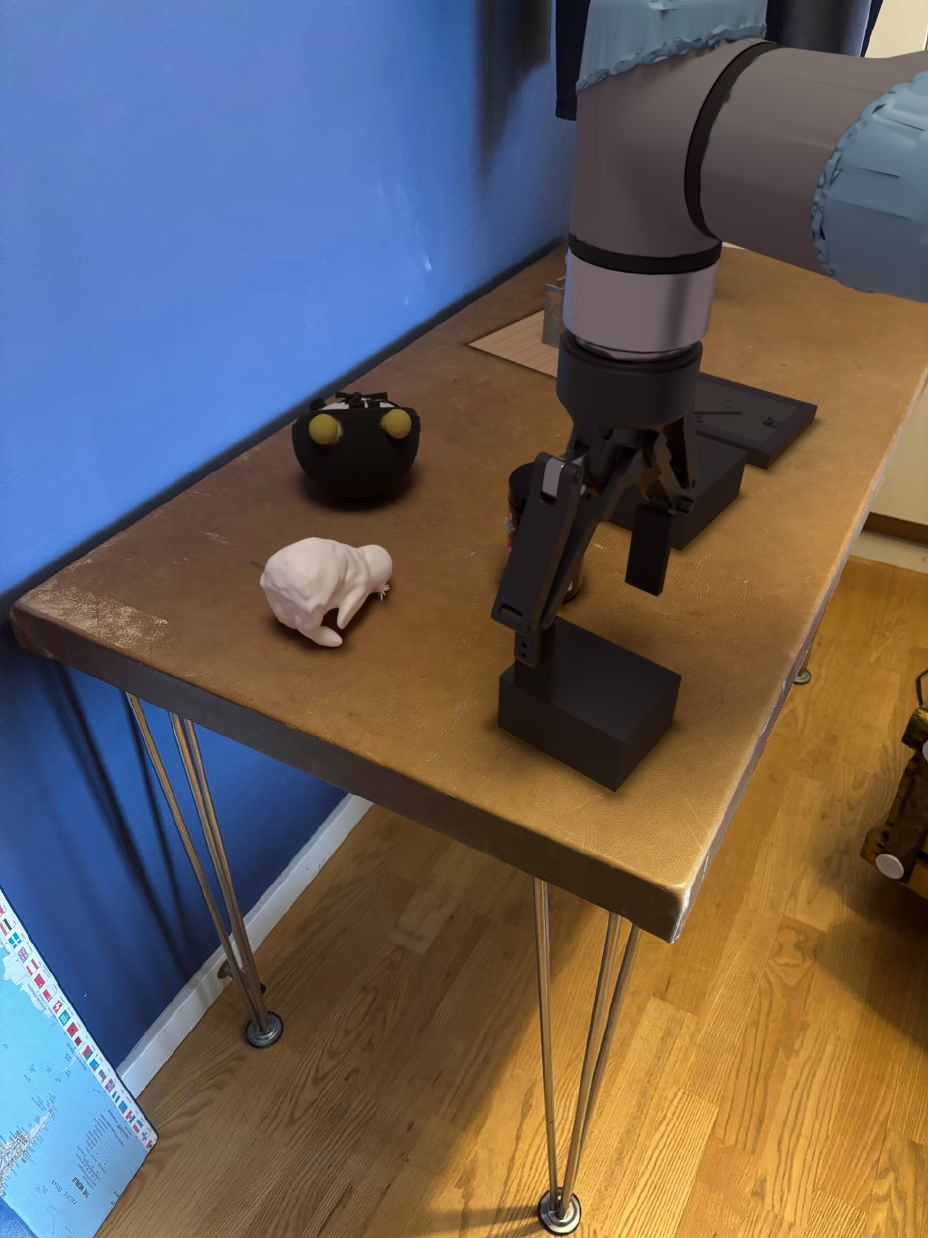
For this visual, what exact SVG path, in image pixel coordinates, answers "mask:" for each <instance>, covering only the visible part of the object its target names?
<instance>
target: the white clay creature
mask: <svg viewBox="0 0 928 1238" xmlns="http://www.w3.org/2000/svg"><path fill="white" fill-rule="evenodd" d="M393 567H394V565H393V560H392V557H391V555H390V554H389V552H388V551H387V549H385V548H384V547H383V546H381V545H379V544H368V545H362V546H359V547H354V546H351V545H349V544H347V543H341V542H339V541H337V540H335V539H328V538H327V539H326V538H322V537H317V536H316V537H315V536H312V537H308V538H304V539H301V540H299V541H296V542H294V543H291V544H289V545H286V546H285V547H283V548H281V549H280V550H278V551H277V552H275V553H274V554H273V555H271V557H269V558H268V560H267V562H266V564H265V567H264V570H263V572H262V574H261V576H260V580H259V586H260V587H261V589H262V590H263V592H264V593H265V597H266V600H267V602H268V605H269V606H270V608H271V610H272V611H273V614H274V616H275V617H276V618H277V620H278V621H279V622H280V623H282V624H284V625H285V626H287V627H288V628H290V629H295V630H297V631H299V632H300V633H301V634H302V635H303V636H305V637H306V638H309V639H310V640H312V641H313V642H315V643H316V644H318V645H321V646H325V647H332V648H335V647H336V648H337V647H339V646H341V645H342V644H343V638H342V637H341V636H340V635H339V633H337V632H336V631H334V630H333V629H332V628H331V627H328V626H325V625H322V622H323V619H324V616H325V615H326V614H327V613H328V612H329V611H330V610H331V609H333V610H334V609H336V608H337V609H338V614H337V618H336V626H337V627H338V628H339V629H341V630H344V629H345V628H346V626H347V625H348V624H349V623H350V621H351V620H352V619H353V617H355V614H357V612H358V611H359V610H360V608H361V607H362V606H363V604H365V602H366V599H367V598H368V596H369V595H371V594H373V593H378V594H377V596H379V595H380V600H381V601H383V595H384V596H385V595H386V594H385V591H386V592H387V591H388V592H389V590H391V588H390V587H389V586H390V585H389V584H387V583H388V581H389V580H390V578H391V576H392V574H393Z"/></svg>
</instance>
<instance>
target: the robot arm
mask: <svg viewBox="0 0 928 1238" xmlns="http://www.w3.org/2000/svg"><path fill="white" fill-rule="evenodd" d="M768 2H769V1H768V0H590V2H589V6H588V7H589V8H588V14H587V20H586V26H585V27H586V28H585V33H584V39H583V40H584V41H583V47H582V55H581V61H580V68H579V76H578V80H577V81H576V83H575V95H576V117H575V139H574V143H575V144H574V157H573V172H572V173H573V175H572V187H571V188H572V189H571V203H570V204H571V205H570V215H569V229H568V236H567V245H568V250H567V253H566V255H565V257H564V265H565V266H566V272H565V276H566V282H565V292H564V303H563V314H562V319H563V322H564V325H565V327H566V329H565V330H564V331H563V332H562V333H561V336H560V342H559V354H558V367H557V377H556V379H555V380H556V381H555V393H556V397H557V399H558V401H559V402H560V404H561V405H562V406H563V408H564V409H565V410H566V411H567V413H568V415H569V416H570V418H571V421H572V424H573V425H572V428H571V433H570V436H569V440H568V441H567V444H566V448H565V451H564V452H563V453H561V454H559V455H557V456H555V455H554V454H550V453H548V452H545V451H540V452H539V453H538V454H537V455H536V456H535V459H534V460H533V462H534V464H533V469H532V477H531V484H530V492H529V496H528V499H527V503H526V506H525V509H524V512H523V515H522V518H521V521H520V524H519V527H518V530H517V534H516V537H515V540H514V543H513V546H512V549H511V552H510V555H509V558H508V561H507V564H506V563H505V568H504V571H503V574H502V577H501V580H500V583H499V587H498V589H497V593H496V596H495V598H494V602H493V605H492V608H491V611H490V618H491V620H493V621H494V622H496V623H498V624H501V625H502V626H504V627H506V628H508V629H510V630H512V631H513V632H514V645H513V656H514V662H515V667H514V684H513V685H514V686H516V687H518V688H520V689H521V690H523V691H525V692H527V693H529V694H531V695H532V696H534V697H536V698H538V699H540V700H542V701H543V702H545V703H547V704H549V703H550V702H551V701H552V700H553V699H554V698H555V696H556V687H557V677H558V667H559V657H560V647H561V638H562V628H563V619H564V617H561V616H559V615H558V612H559V610H560V608H561V606H562V604H563V603H564V602H563V599H564V597H565V595H566V593H567V591H568V589H569V586H570V584H571V582H572V580H573V578H574V576H575V573H576V571H577V569H578V567H579V565H580V563H581V560H582V558H583V556H584V554H585V555H586V551H587V550H588V547H589V545H590V543H591V541H592V539H593V537H594V535H595V532H596V530H597V528H598V525H600V524H601V523H604V522H608V521H607V520H608V519H609V518H610V517H611V515H612V513H613V511H614V509H615V506H616V504H617V502H618V500H619V498H620V496H621V494H622V493H623V491H624V490H625V489H626V488H627V487H628V486H630V485H633V484H635V483H636V485H637V486H638V488H639V490H640V492H641V493H642V495H643V497H644V498H645V499H646V500H649V501H650V505H648V504H645V503H643V502H641V503H640V504H639V505H638V506H636V510H635V517H634V523H633V530H631V536H630V543H629V550H628V557H627V561H626V568H625V569H626V570H625V576H624V583H625V584H627V585H629V586H631V587H634V588H636V589H638V590H641V591H642V592H645V593H647V594H650V595H651V596H654V597H656V598H658V597H659V596H660V595H661V594H662V593H663V591H664V588H665V587H664V586H665V581H666V577H667V569H668V566H669V561H670V560H669V559H670V555H671V550H672V547H671V545H672V539H673V534H674V529H675V523H676V518H677V516H675V511H677V512H679V513H682V514H684V515H687V516H688V515H689V514H690V513H691V511H692V510H693V507H694V504H695V499H693V498H690V497H687V496H685V495H684V492H685V490H687V491H690V492H693V491H694V490H695V488H696V487H697V485H698V481H699V472H698V461H697V450H696V439H695V428H694V417H693V408H694V400H695V393H696V386H697V381H698V375H699V372H700V369H701V365H702V359H703V353H704V346H703V343H702V341H701V339H703V338H704V337H705V336H706V334H707V333H708V331H709V328H710V322H711V316H712V310H713V305H714V298H715V293H716V286H717V281H718V275H719V271H720V270H719V269H720V263H721V258H722V257H721V256H722V255H721V254H722V249H723V244H724V243H727V244H729V245H733V246H735V247H738V248H741V249H744V250H747V251H750V252H753V253H756V254H758V255H762V256H765V257H767V258H770V259H773V260H777V261H780V262H782V263H786V264H788V265H791V266H794V267H796V268H797V267H798V268H800V269H803V270H806V271H809V272H812V273H815V274H818V275H820V276H823V277H826V278H828V279H831V280H834V281H836V282H838V284H840V285H841V286H843V287H846V288H849V289H852V288H853V289H854V290H855V291H858V292H860V293H863V294H864V293H865V294H881V295H886V296H890V297H894V298H899V299H903V300H907V301H912V302H916V303H920V304H928V49H924V50H918V51H913V52H909V53H908V52H907V53H904V54H898V55H893V56H888V57H887V56H886V57H865V56H856V55H850V54H849V55H848V54H840V53H832V52H825V51H818V50H809V49H802V48H794V47H791V46H788V45H782V44H779V43H777V42H775V41H771V40H766V39H765V38H766V33H767V31H768V29H767V27H768V25H767V23H766V19H767V10H768V9H767V8H768ZM584 491H585V492H587V493H590V494H592V495H595V496H597V497H600V498H601V499H600V500H599V501H598V502H592V501H589V500H587V499H585V498H582V497H580V495H582V494H583V493H584ZM584 557H585V556H584Z"/></svg>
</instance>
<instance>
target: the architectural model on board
mask: <svg viewBox="0 0 928 1238" xmlns="http://www.w3.org/2000/svg"><path fill="white" fill-rule="evenodd" d="M555 282H556V283H555V285H552V284H548V283H546V284H545V288H544V290H545V291H544V304H543V306H544V308H543V309H542V310H540V311H538V312H536V313H534V314H532V315H530V316H527V317H525V318H523V319H521V320H519V321H515V322H514V323H512V324H510V325H507V326H506V327H503V328H501V329H498V330H497V331H494V332H492V333H491V334H488V335H485V336H483V337H482V338H479V339H477V340H474V341H473V342H470V343H469V344H467V345H468V346H470V347H474V348H476V349H479V350H482V351H484V352H486V353H490V354H492V355H495V356H497V357H499V358H502V359H506V360H509V361H511V362H514V363H517V364H518V365H522V366H524V367H527V368H530V369H533V370H536V371H538V372H541V373H544V374H546V375H549V376H552V377H554V378H557V367H558V354H559V342H560V336H561V333H562V332H563V331H564V330H565V329H566V327H565V325H564V322H563V319H562V314H563V303H564V292H565V282H566V275H565V276H563V277H560V278H558V279H556V281H555Z"/></svg>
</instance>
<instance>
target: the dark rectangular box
mask: <svg viewBox="0 0 928 1238" xmlns="http://www.w3.org/2000/svg"><path fill="white" fill-rule="evenodd" d="M695 439H696V450H697V461H698V472H699V481H698V485H697V487H696V488H695V490H694V491H693V492H690V491H687V490H685V492H684V495H685V496H687V497H690V498H693V499H695V504H694V507H693V510H692V511H691V513H690V514H689V515H688V516H687V515H684V514H682V513H679V512H677V511H675V516H677V518H676V523H675V529H674V534H673V539H672V545H671V548H674V549H677V550H679V551H682V550H683V549H684V548H685V547H686V546H687V545H688V544H689V543H690V542H691V541H692V540H694V538H695V537H696V536H698V535H699V534H700V533H701V532H702V531H703V530H704V529H705V528H706V527H707V526H708V525H709V524H710V523H711V522H712V521H713V520H714V519H715V518H716V517H717V516H719V514H721V513H722V512H723V511H724V510H726V508H727V507H729V505H730V504H731V503H732V502H734V500H736V499H737V498H738V496H739V495H740V490H741V486H742V482H743V477H744V472H745V469H746V463H747V462H746V459H747V455H748V451H745V450H742V449H739V448H736V447H733V446H730V445H727V444H724V443H721V442H718V441H715V440H712V439H709V438H706V437H703V436H700V435H697V434H695ZM600 499H601V498H600V497H597V496H595V495H592V494H591V501H592V502H598V501H599V500H600ZM641 502H643V503H645V504H648V505H650V501H649V500H646V499H645V498H644V497H643V495H642V493H641V492H640V490H639V488H638V486H637V485H636V483H635V484H633V485H630V486H628V487H627V488H626V489H625V490H624V491H623V493H622V494H621V496H620V498H619V500H618V502H617V504H616V506H615V509H614V511H613V513H612V515H611V517H610V518H609V519H608V520H607V521H606V522H610V523H612V524H614V525H617V526H619V527H622V528H625V529H627V530H629V531H632V530H633V523H634V517H635V510H636V506H638V505H639V504H640V503H641Z"/></svg>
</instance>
